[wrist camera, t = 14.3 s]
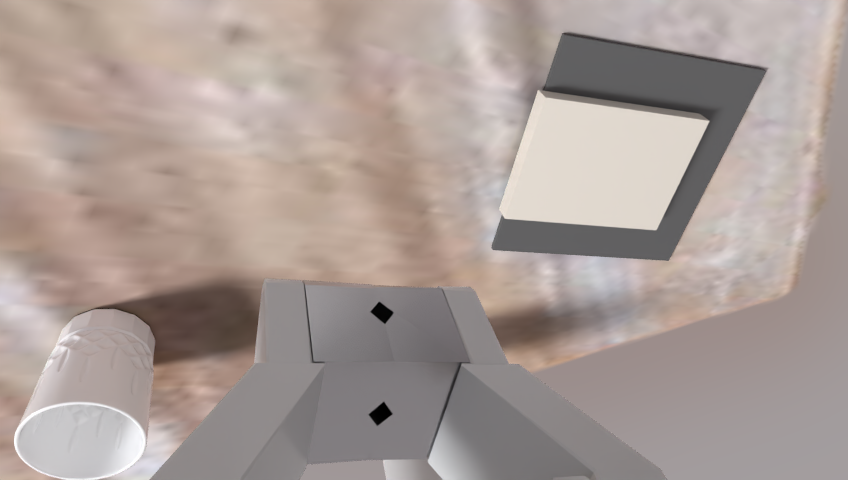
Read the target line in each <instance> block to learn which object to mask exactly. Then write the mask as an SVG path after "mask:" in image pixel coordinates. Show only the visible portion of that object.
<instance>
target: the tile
mask: <svg viewBox="0 0 848 480" xmlns="http://www.w3.org/2000/svg"><path fill="white" fill-rule="evenodd" d="M708 123H709V120H708V119H706V118H705V117H703V116H702V115H701V114H699V113H692V112H685V111H678V110H672V109H665V108H658V107H651V106H644V105H637V104H631V103H624V102H617V101H610V100H603V99H596V98H590V97H583V96H576V95H569V94H562V93H556V92H549V91H542V90H538V92H537V95H536V98H535V101H534V104H533V107H532V110H531V114H530V117H529V120H528V123H527V126H526V129H525V132H524V135H523V138H522V141H521V144H520V147H519V150H518V153H517V156H516V159H515V162H514V166H513V169H512V172H511V175H510V178H509V181H508V184H507V187H506V190H505V193H504V196H503V199H502V202H501V205H500V208H499V210H500V212H501V213H502V215H503V217H504V218H505V219H515V220H528V221H541V222H554V223H567V224H580V225H593V226H606V227H619V228H632V229H644V230H657V228H658V226H659V224H660V222H661V220H662V218H663V216H664V214H665V212H666V210H667V208H668V205H669V203H670V201H671V199H672V197H673V195H674V193H675V191H676V189H677V187H678V185H679V183H680V181H681V179H682V177H683V175H684V173H685V171H686V169H687V166H688V164H689V162H690V160H691V158H692V156H693V154H694V152H695V150H696V148H697V146H698V144H699V142H700V140H701V138H702V136H703V134H704V132H705V130H706V128H707V125H708Z"/></svg>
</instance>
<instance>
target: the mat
mask: <svg viewBox="0 0 848 480" xmlns="http://www.w3.org/2000/svg"><path fill="white" fill-rule="evenodd" d="M765 72H766V71H765V70H763V69H759V68H753V67H748V66H742V65H736V64H731V63H725V62H720V61H714V60H708V59H703V58H697V57H692V56H686V55H680V54H675V53H669V52H664V51H658V50H652V49H647V48H641V47H636V46H630V45H624V44H619V43H613V42H608V41H602V40H596V39H591V38H585V37H580V36H574V35H568V34H563V33H562V36H561V39H560V42H559V45H558V48H557V51H556V54H555V57H554V60H553V63H552V66H551V69H550V72H549V75H548V78H547V81H546V84H545V87H544V90H543V91H549V92H556V93H562V94H569V95H576V96H583V97H590V98H596V99H603V100H610V101H617V102H624V103H631V104H637V105H644V106H651V107H658V108H665V109H672V110H678V111H685V112H692V113H699V114H701V115H702V116H703V117H705V118H706V119H708V120H709V123H708V125H707V128H706V130H705V132H704V134H703V136H702V138H701V140H700V142H699V144H698V146H697V148H696V150H695V152H694V154H693V156H692V158H691V160H690V162H689V164H688V166H687V169H686V171H685V173H684V175H683V177H682V179H681V181H680V183H679V185H678V187H677V189H676V191H675V193H674V195H673V197H672V199H671V201H670V203H669V205H668V208H667V210H666V212H665V214H664V216H663V218H662V220H661V222H660V224H659V226H658V228H657V230H644V229H632V228H619V227H606V226H593V225H580V224H567V223H554V222H541V221H528V220H515V219H505V218H504V217H503V215H502V217H501V220H500V223H499V226H498V229H497V232H496V235H495V238H494V241H493V244H492V249H493V250H501V251H518V252H534V253H551V254H567V255H584V256H600V257H617V258H633V259H650V260H666V261H669V259H670V257H671V255H672V253H673V251H674V249H675V247H676V245H677V243H678V241H679V239H680V237H681V235H682V233H683V231H684V230H685V228H686V226H687V224H688V222H689V220H690V218H691V216H692V214H693V212H694V210H695V208H696V206H697V204H698V202H699V200H700V198H701V197H702V195H703V193H704V191H705V189H706V187H707V185H708V183H709V181H710V179H711V177H712V175H713V173H714V171H715V169H716V167H717V165H718V163H719V162H720V160H721V158H722V156H723V154H724V152H725V150H726V148H727V146H728V144H729V142H730V140H731V138H732V136H733V134H734V132H735V130H736V128H737V127H738V125H739V123H740V121H741V119H742V117H743V115H744V113H745V111H746V109H747V107H748V105H749V103H750V101H751V99H752V97H753V95H754V94H755V92H756V90H757V88H758V86H759V84H760V82H761V80H762V78H763V76H764V74H765Z"/></svg>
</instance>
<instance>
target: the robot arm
mask: <svg viewBox="0 0 848 480" xmlns="http://www.w3.org/2000/svg"><path fill="white" fill-rule="evenodd" d="M408 459H428V463H429V464H430V465H431V467H432V468H433V469H434V470H435V471H436V472H437V474H438V475H439V476H440V477H441V478H442V479H443V480H667V479H666V477H665V475H664V474H663V472H662V470H661V469H660V468H658V467H657V466H655V465H654V464H653V463H651V462H650V461H649V460H647V459H646V458H645V457H643V456H642V455H641V454H639V453H638V452H636V451H635V450H634V449H632V448H631V447H630V446H629V445H627V444H626V443H624V442H623V441H622V440H620V439H619V438H618V437H616V436H615V435H614V434H612V433H611V432H609V431H608V430H607V429H605V428H604V427H603V426H601V425H600V424H599V423H597V422H596V421H595V420H593V419H592V418H591V417H589V416H588V415H587V414H585V413H584V412H583V411H581V410H580V409H578V408H577V407H576V406H574V405H573V404H572V403H570V402H569V401H568V400H566V399H565V398H564V397H562V396H561V395H560V394H558V393H557V392H556V391H554V390H553V389H551V388H550V387H549V386H547V385H546V384H545V383H543V382H542V381H541V380H539V379H538V378H537V377H535V376H534V375H533V374H531V373H530V372H529V371H527V370H526V369H525V368H523V367H522V366H520V365H519V364H509V363H508V361H507V359H506V356H505V354H504V352H503V350H502V348H501V346H500V344H499V341H498V339H497V337H496V335H495V333H494V331H493V328H492V326H491V324H490V322H489V320H488V318H487V315H486V313H485V311H484V309H483V307H482V305H481V303H480V300H479V298H478V296H477V294H476V292H475V290H473V289H472V288H471V287H439V286H438V287H437V288H434V287H407V286H380V285H370V284H354V283H338V282H323V281H307V280H303V281H301V280H285V279H264V283H263V286H262V294H261V303H260V312H259V321H258V330H257V338H256V350H255V363H254V364H253V365H252V366H251V368H250V369H249V370H248V371H247V372H246V373H245V374H244V375H243V376H242V378H241V379H240V380H239V381H238V382H237V383H236V384H235V385H234V386H233V388H232V389H231V390H230V391H229V392H228V393H227V394H226V395H225V397H224V398H223V399H222V400H221V401H220V402H219V403H218V404H217V405H216V407H215V408H214V409H213V410H212V411H211V412H210V413H209V414H208V415H207V417H206V418H205V419H204V420H203V421H202V422H201V423H200V424H199V425H198V427H197V428H196V429H195V430H194V431H193V432H192V433H191V434H190V435H189V437H188V438H187V439H186V440H185V441H184V442H183V443H182V444H181V445H180V447H179V448H178V449H177V450H176V451H175V452H174V453H173V454H172V455H171V457H170V458H169V459H168V460H167V461H166V462H165V463H164V464H163V465H162V467H161V468H160V469H159V470H158V471H157V472H156V473H155V474H154V475H153V477H152V478H151V479H150V480H300V478H301V476H302V475H303V473H304V471H305V469H306V466H307V464H319V463H332V462H348V461H361V460H408Z"/></svg>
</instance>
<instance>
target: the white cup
mask: <svg viewBox="0 0 848 480" xmlns="http://www.w3.org/2000/svg"><path fill="white" fill-rule="evenodd" d="M154 349H155V338H154V336H153V334H152V331H151V329H150V327H149V326H148V325H147V324H146V323H145V322H143V321H142V320H141V319H139V318H138V317H137V316H136V315H133V314H130V313H127V312H124V311H120V310H117V309H93V310H91V311H88V312H85V313H82V314H80V315H77V316H75V317H74V318H73V319H72V320H71V321H70V322H69V323H68V324H67V325H66V326H65V327H64V328H63V330H62V332H61V334H60V337H59V339H58V341H57V344H56V346H55V348H54V350H53V351H52V353H51V355H50V357H49V358H48V360H47V363H46V365H45V368H44V370H43V372H42V373H41V375H40V377H39V380H38V382H37V384H36V387H35V389H34V391H33V394H32V396H31V398H30V401H29V403H28V405H27V408H26V410H25V412H24V414H23V417H22V419H21V421H20V424H19V426H18V428H17V430H16V433H15V437H14V445H15V449H16V451H17V453H18V455H19V456H20V458H21V459H22V460H23V461H24V462H25V463H26V464H27V465H29V466H30V467H31V468H33V469H35V470H36V471H38V472H41V473H43V474H45V475H48V476H52V477H55V478H60V479H66V480H96V479H101V478H106V477H110V476H113V475H116V474H118V473H121V472H123V471H125V470H127V469H128V468H130V467H131V466H133V465H134V464H135V463H136V462H137V461H138V460H139V459H140V458H141V457H142V455H143V453H144V451H145V449H146V445H147V436H148V427H149V417H150V408H151V399H152V386H153V372H154V370H153V357H154Z"/></svg>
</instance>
